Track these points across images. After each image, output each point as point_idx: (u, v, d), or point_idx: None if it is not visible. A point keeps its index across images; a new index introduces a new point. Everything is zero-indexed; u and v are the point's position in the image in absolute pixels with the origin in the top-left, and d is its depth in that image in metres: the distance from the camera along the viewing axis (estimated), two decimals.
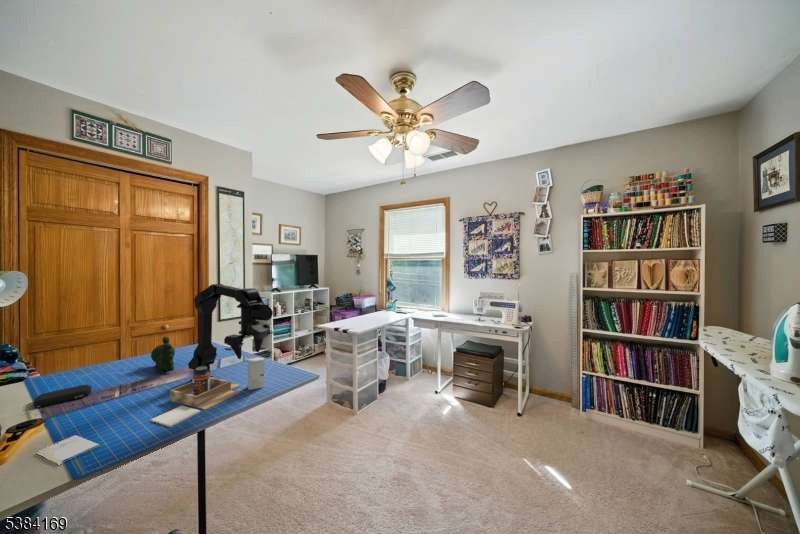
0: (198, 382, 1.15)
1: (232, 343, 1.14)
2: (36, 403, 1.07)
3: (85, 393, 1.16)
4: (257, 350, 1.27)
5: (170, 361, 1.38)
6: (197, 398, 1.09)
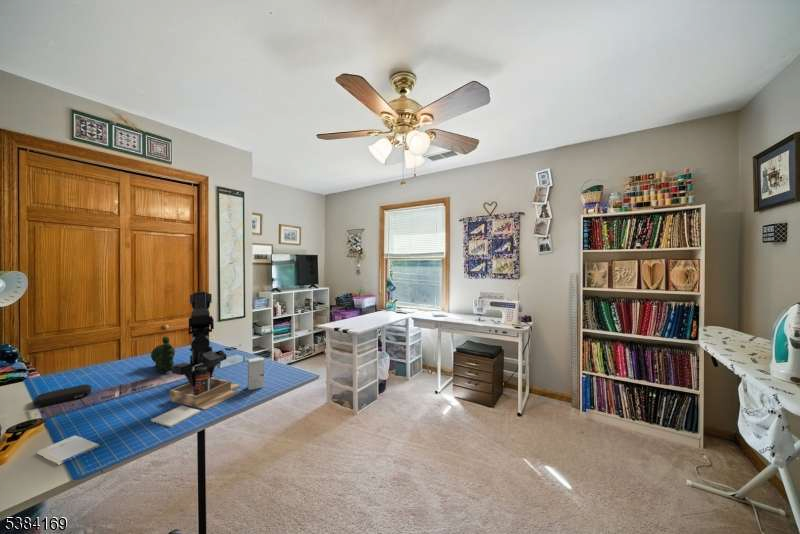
0: (198, 382, 1.15)
1: (179, 373, 1.08)
2: (36, 403, 1.07)
3: (85, 393, 1.16)
4: None
5: (170, 361, 1.38)
6: (197, 398, 1.09)
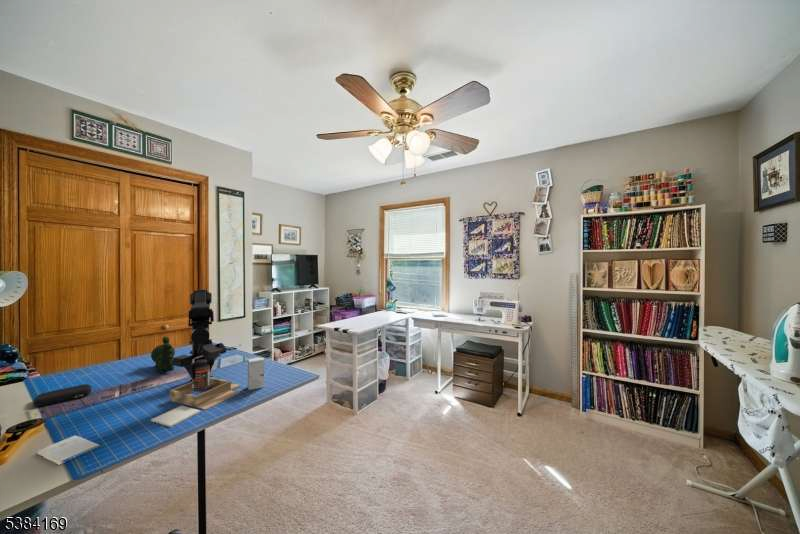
0: (198, 374, 1.15)
1: (179, 365, 1.08)
2: (36, 402, 1.08)
3: (85, 393, 1.16)
4: None
5: (170, 361, 1.38)
6: (197, 398, 1.09)
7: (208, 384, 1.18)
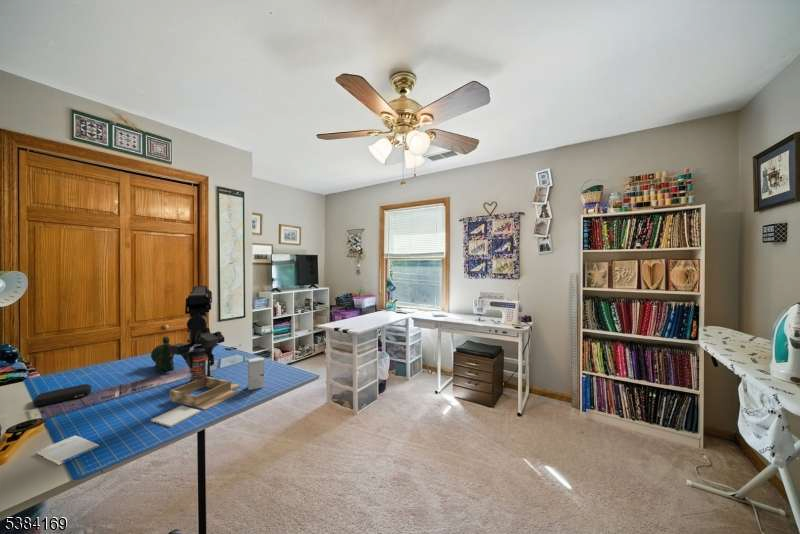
0: (196, 363, 1.13)
1: (176, 353, 1.06)
2: (36, 402, 1.08)
3: (85, 392, 1.16)
4: None
5: (170, 361, 1.38)
6: (197, 398, 1.09)
7: (206, 373, 1.16)
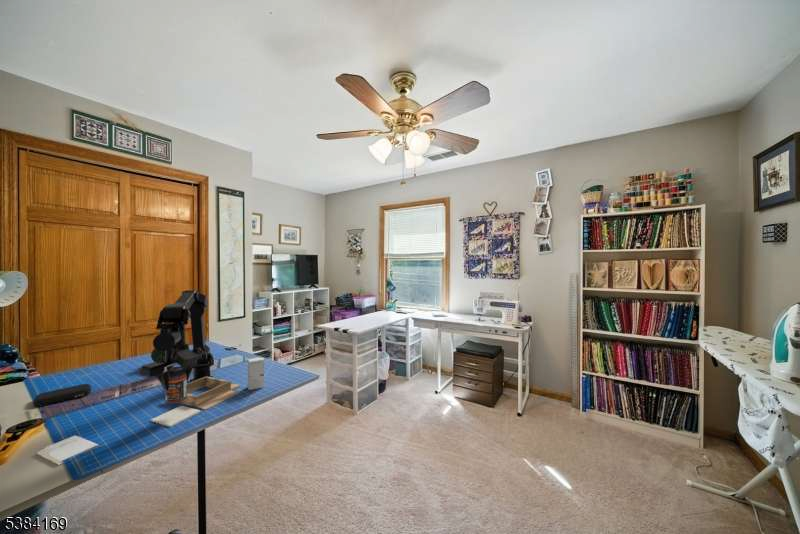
0: (172, 384, 0.99)
1: (148, 375, 0.92)
2: (36, 402, 1.08)
3: (85, 392, 1.16)
4: None
5: None
6: (197, 398, 1.09)
7: (184, 395, 1.02)
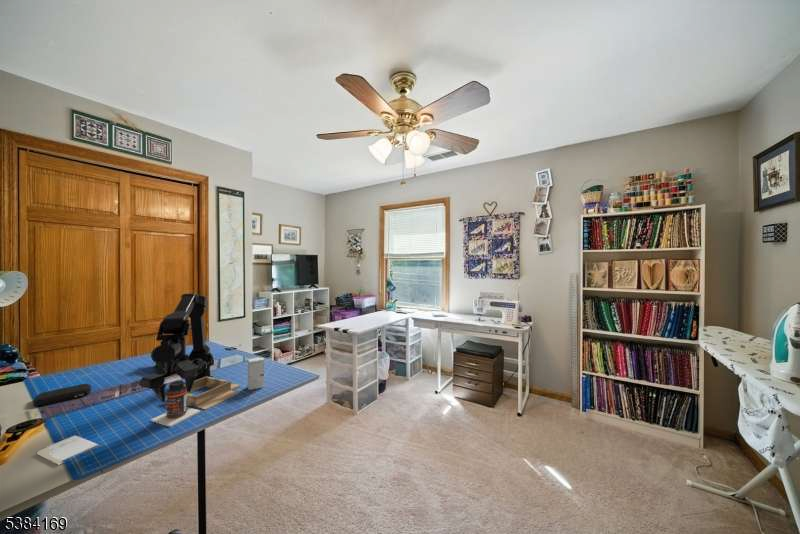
0: (172, 399, 0.99)
1: (148, 386, 0.93)
2: (36, 402, 1.08)
3: (85, 392, 1.17)
4: (188, 390, 1.06)
5: None
6: (197, 398, 1.09)
7: (184, 410, 1.02)
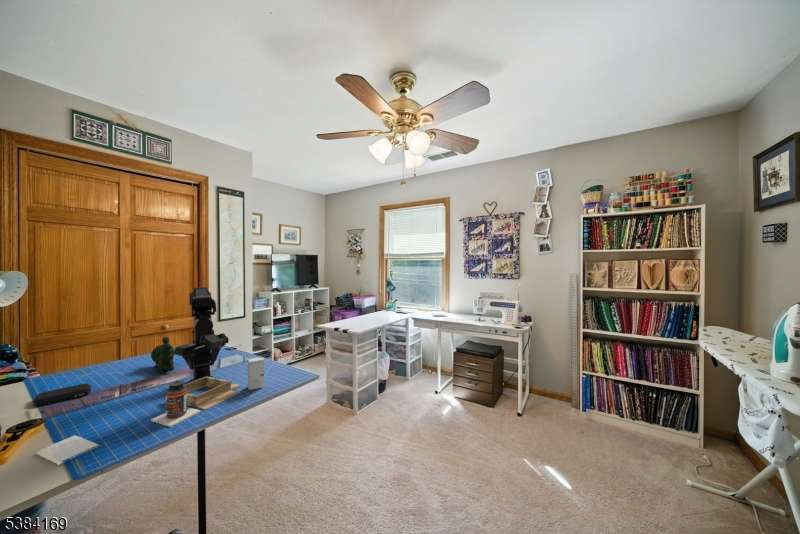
0: (172, 399, 0.99)
1: (181, 354, 1.09)
2: (36, 402, 1.08)
3: (85, 392, 1.17)
4: (214, 359, 1.23)
5: (170, 361, 1.38)
6: (197, 398, 1.09)
7: (184, 410, 1.02)
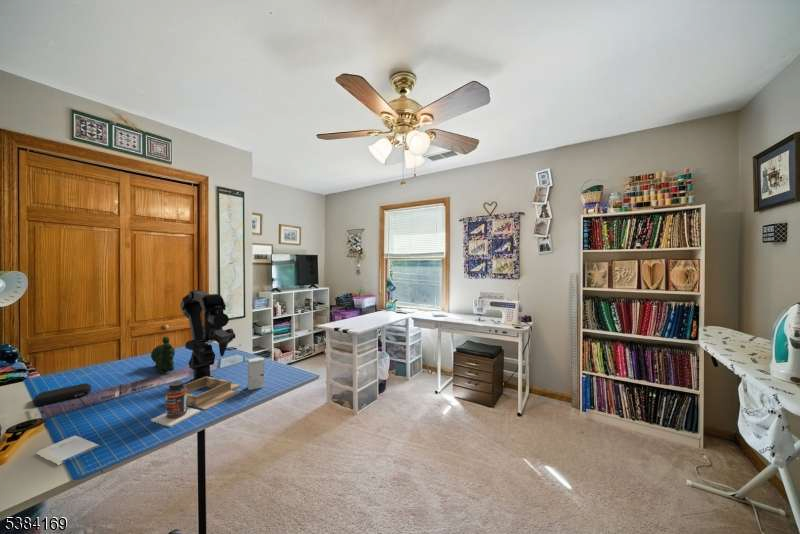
0: (172, 399, 0.99)
1: (193, 348, 1.15)
2: (36, 401, 1.08)
3: (85, 391, 1.17)
4: (221, 354, 1.29)
5: (170, 361, 1.38)
6: (197, 398, 1.09)
7: (184, 410, 1.02)
